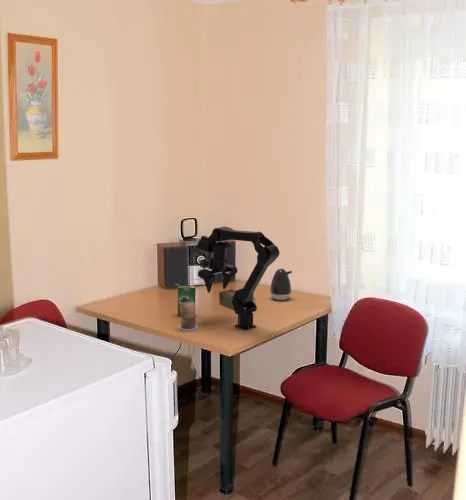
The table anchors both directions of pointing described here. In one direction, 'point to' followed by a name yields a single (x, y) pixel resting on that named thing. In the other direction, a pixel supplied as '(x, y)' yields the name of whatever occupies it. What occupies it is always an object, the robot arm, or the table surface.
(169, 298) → the table surface
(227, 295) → the beverage carton
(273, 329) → the table surface
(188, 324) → the brown rounded cylinder
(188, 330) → the slate pad
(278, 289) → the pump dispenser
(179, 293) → the coffee box
